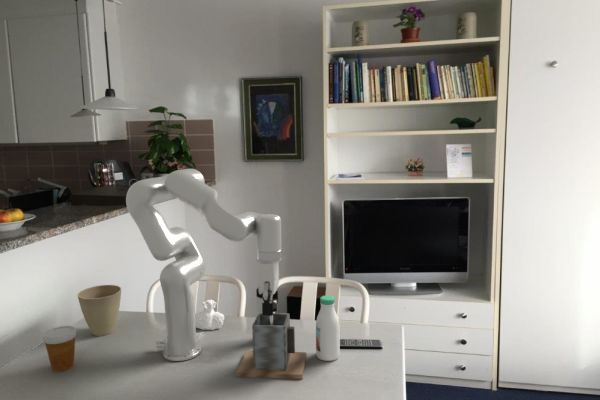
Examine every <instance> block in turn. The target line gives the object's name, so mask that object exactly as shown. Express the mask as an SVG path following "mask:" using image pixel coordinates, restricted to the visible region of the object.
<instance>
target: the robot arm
mask: <svg viewBox="0 0 600 400" xmlns="http://www.w3.org/2000/svg"><path fill="white" fill-rule="evenodd" d="M218 197H219V193H218V191H217V190H216V189H215V188H212V187H211V186H209V185H207V183H205V177H204V175H203V174H202V173H201V172H200V171H199V170H198V169H195V168H186V169H177V170H174V171H172V172H169V174H168V175H164V176H158V177H151V178H150V177H149V178H144V179H141V180H138V181H136V182H134V183H133V184H131V185H130V187H129V188H128V190H127V192H126V197H125V204H126V208H127V211H128V213H129V215H130V217H131V219H132V220H133V221H134V223H135V224H136V226H137V228H138V230H139V232H140V233H141V236H142V239H143V240H144V241H145V242H144V243H145V244H146V246H147V247H148V250H149V252H150V253H151V255H152V257H153V258H154V259H155V260H156V261H159V262H162V261H163V262H164V261H167V260H170V259H172V258H175V260H174V261H172V262H169V263H168V264H166V265H165V266H164V268H163V269H162V270H161V271H160V274H159V282H160V286H161V290H162V293H163V294H162V295H163V301H164V315H165V329H166V330H165V331H166V338H165V339H161V338H157V339H156V341H155V345H156V348H157V349H158V348H159V349H161V348H163V350H162V356H163V358H164V359H166V360H168V361H171V362H183V361H189V360H191V359H193V358H196V357H197V356H199V355H200V354H201V353H202V345H201V344H200V343H198V342H197V333H196V332H197V331H196V326H195V314H196V313H195V311H196V309H195V299H194V295H193V293H192V291H191V287H190V286H192V285H194V283H196V282H198V281H200V280H201V279H202V278H203V277H204V276H205V274H206V264H205V261H204V259H203V257H202V254H201V252H200V251H199V249H198V247H197V245H196V242H195V240H194V239H193V237H192V235H191V234H190V233H189V231H188V230H186V229H184V228H183V227H179V226H174V227H169V225H168V224H167V222H166V220H165V218H164V216H163V215H162V214H161V212H160V211H159V210H157V209H156V207H154V205H155V204H156V205H157V204H159V203H164V202H168V201H172V200H176V199H178V200H179V201H180V202H182V203H184V204H185V205H187V206H188V207H190V208H192V209H193V210H195V211H196V212H198V213H200V215H201V216H202V218H203V220H204V222H205V223H206V224H207V226H208V227H209V228H210V229H211V230H213V231H214V232H215V233H216V234H219V235H220V236H221V237H223V238H225V239H227V240H228V241H232V242H237V243H239V242H243V241H245V240H246V239H248V238H251V237H254V236H256V261H257V262H258V263H259V268H258V287H259V294H260V295H261V294H262V293H263V298H262V315H265V316H272V315H273V302H272V298H275V299H277V303H278V304H279V291H278V290H279V289H278V288H279V283H280V270H279V269H280V267H279V263H280V262H281V261H282V259H283V256H282V251H283V249H282V219H281V217H280V216H279V215H278V214H273V213H267V214H263V213H257V212H254V211H246V212H243V213H240V214H237V215H234V214H232V213H231V212H229V211H227V210H226V209H224V207H222V206H221V205H220V204H219V202H218Z"/></svg>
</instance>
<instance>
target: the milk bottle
mask: <svg viewBox="0 0 600 400" xmlns="http://www.w3.org/2000/svg"><path fill="white" fill-rule="evenodd" d="M335 299H336V298H335V297H334V296H333V295H322V296H320V298H319V300H320V301H319V302H320V310H319V312H318V315H317V316H316V321H315V352H316V353H315V355H316V357H317V358H318V359H319V360H321V361H326V362H331V361H335V360H337V359H339V357H340V356H341V354H340V352H341V348H340V347H341V346H340V345H341V344H340V343H341V341H340V340H341V339H340V338H341V337H340V334H341V332H340V318H339V317H338V314H337V312H336V308H335V302H336V301H335Z"/></svg>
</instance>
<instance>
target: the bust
mask: <svg viewBox="0 0 600 400" xmlns="http://www.w3.org/2000/svg"><path fill="white" fill-rule="evenodd" d="M217 303H218V302H216V301H215V300H214V299H207V300H205V301H203V302H201V305H202V306H203V309H204V311H200V312H198V313H195V326H196V328H197V329H200V330H202V331H204V330H206V331H210V330H211V331H214V330H218V329H221V328H222V327H223V324H224V322H225V315H224V314H223V313H220V312H219V311H215V310H214V308H216V305H217Z"/></svg>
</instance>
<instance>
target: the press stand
mask: <svg viewBox="0 0 600 400" xmlns="http://www.w3.org/2000/svg"><path fill="white" fill-rule="evenodd" d="M290 321H291V317H290V313H286V312H285V313H281V312H279V313H278V312H275V313H273V325H270V316H265V315H262V313H258V315H257V314H256V318H255V319H254V322H253V324H252V329H251V330H252V350H245V352H244V355H243V357H242V359H241V361H240V363H239V366H238V367H237V369H236V372H235V376H236V378H252V379H253V378H255V379H256V378H259V379H280V380H283V379H284V380H287V379H288V380H303V377H304V371H305V367H306V362H307V352H305V351H296V342H295V341H296V340H295V339H296V338H295V336H296V335H295V326H291V325H290V324H291V323H290Z"/></svg>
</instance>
